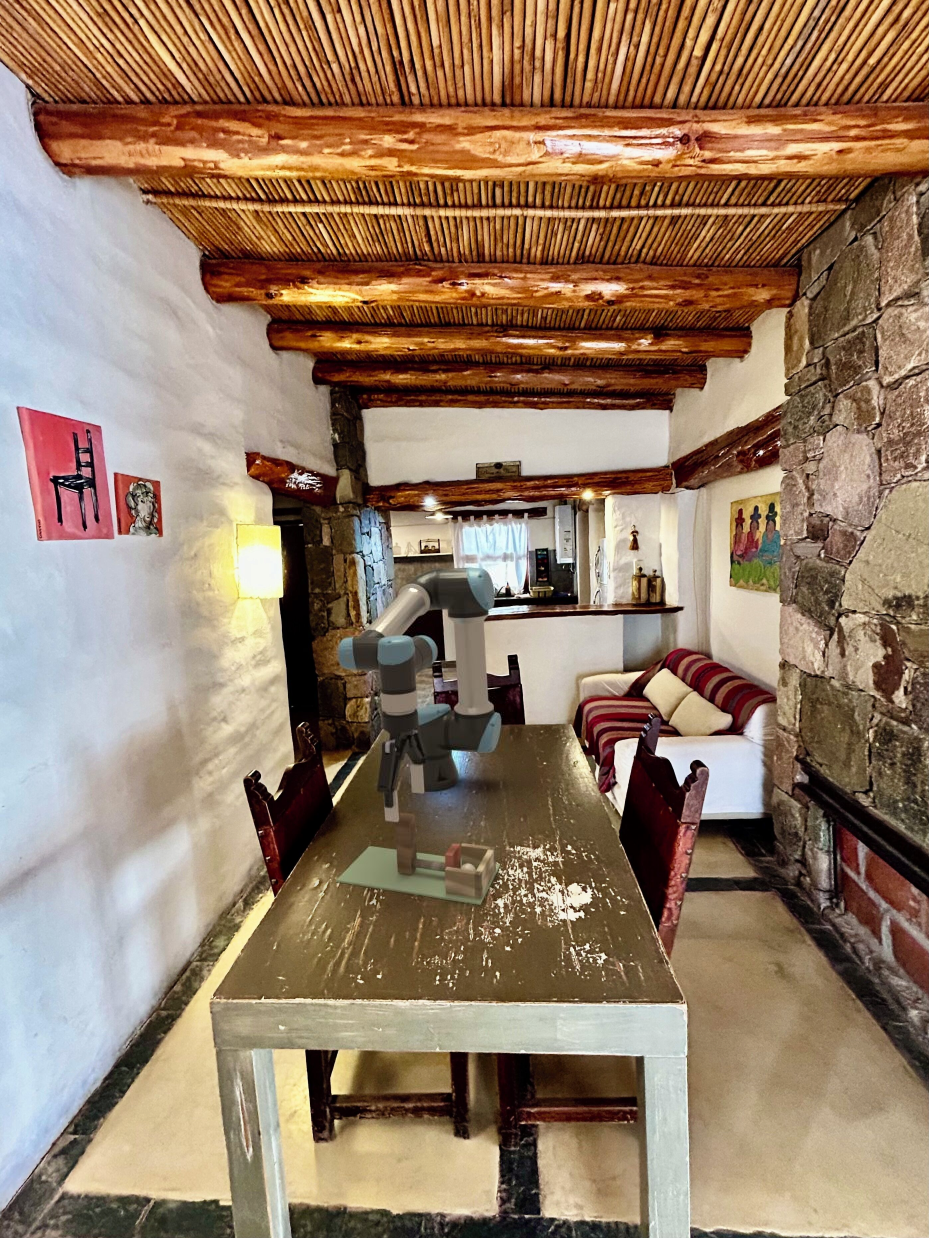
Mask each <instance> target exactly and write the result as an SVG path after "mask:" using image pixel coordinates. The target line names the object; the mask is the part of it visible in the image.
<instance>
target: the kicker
mask: <svg viewBox="0 0 929 1238" xmlns="http://www.w3.org/2000/svg"><path fill="white" fill-rule="evenodd" d="M399 813H400V814H399V821H398V822H394V826H395V827H394V828H395V844H396V849H395V850H397V868H398V873H404V874H412V873H413V872H414V871H415V869H416V868H422V869H428V870H435V871H442V872H445V869H446V867H452V868H459V869H460V868H461V844H460V843H452V844H451V846H450V847H449V848H448V850H447V851H446V853H445V854H444V856H445V863H444V862H437V861H430V860H423V859H417V853H418V852H417V835H416V833H417V832H416V814H414V813H408V812H407V813H405V812H399Z"/></svg>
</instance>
